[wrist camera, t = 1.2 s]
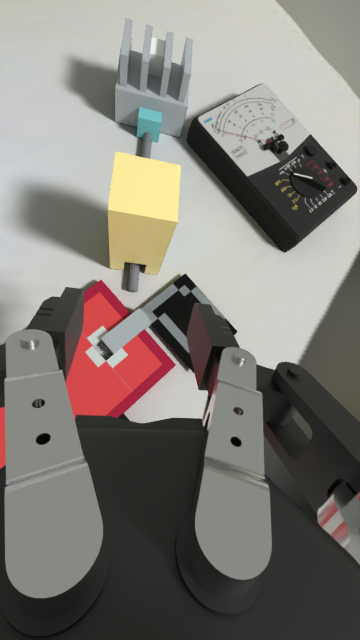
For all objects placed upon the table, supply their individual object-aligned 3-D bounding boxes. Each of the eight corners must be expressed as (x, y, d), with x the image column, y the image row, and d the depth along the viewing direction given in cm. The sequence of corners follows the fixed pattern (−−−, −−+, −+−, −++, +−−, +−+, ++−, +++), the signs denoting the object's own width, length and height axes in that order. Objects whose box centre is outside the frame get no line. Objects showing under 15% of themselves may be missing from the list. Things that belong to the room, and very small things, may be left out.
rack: (179, 137, 35) (194, 79, 29) (115, 121, 34) (115, 56, 27) (182, 100, 37) (196, 37, 30) (120, 84, 35) (121, 13, 29)
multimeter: (282, 256, 35) (308, 235, 30) (183, 142, 36) (194, 105, 31) (339, 206, 39) (370, 181, 35) (250, 106, 40) (268, 68, 35)
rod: (144, 293, 29) (147, 284, 27) (119, 290, 29) (119, 281, 26) (162, 93, 36) (165, 72, 34) (142, 88, 36) (143, 66, 33)
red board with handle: (245, 346, 31) (155, 245, 31) (257, 342, 28) (159, 232, 29) (-8, 598, 22) (-126, 448, 22) (-26, 627, 19) (-160, 456, 20)
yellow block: (157, 274, 30) (177, 222, 21) (110, 268, 29) (107, 209, 20) (160, 233, 31) (180, 165, 22) (115, 225, 30) (115, 151, 21)
